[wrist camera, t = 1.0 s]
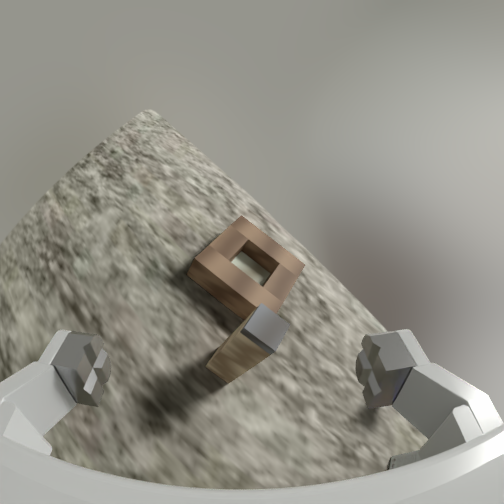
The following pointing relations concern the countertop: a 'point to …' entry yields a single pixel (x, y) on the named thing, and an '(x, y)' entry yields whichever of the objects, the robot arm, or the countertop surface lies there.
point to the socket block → (246, 269)
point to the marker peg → (248, 344)
